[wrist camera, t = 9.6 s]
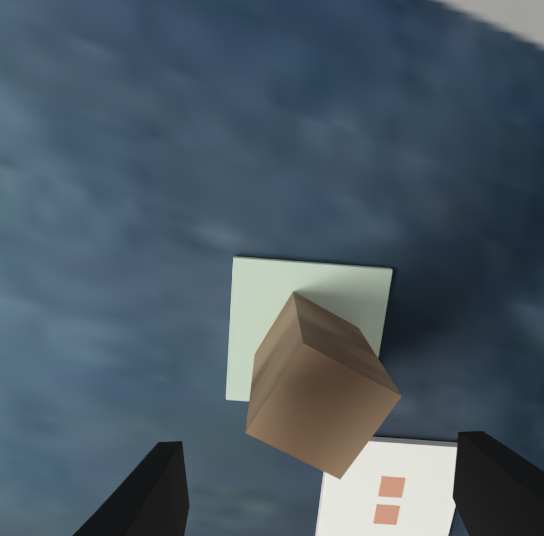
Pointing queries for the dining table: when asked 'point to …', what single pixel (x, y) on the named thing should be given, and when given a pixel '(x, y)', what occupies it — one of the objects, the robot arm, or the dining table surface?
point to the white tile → (391, 491)
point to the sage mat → (309, 284)
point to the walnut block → (317, 388)
